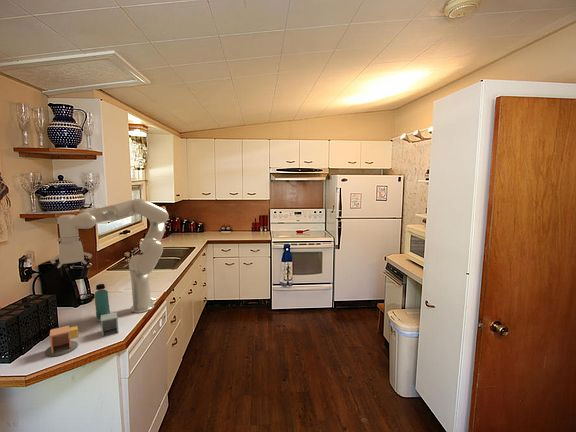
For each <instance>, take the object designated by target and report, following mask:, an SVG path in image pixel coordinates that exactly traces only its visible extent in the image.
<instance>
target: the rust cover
mask: <svg viewBox="0 0 576 432" xmlns="http://www.w3.org/2000/svg"><path fill="white" fill-rule="evenodd" d="M49 339H50V341H49V342H50V343H49V344H50V346H51V351H52V353H54V347H55V346H59V345H63V344H67V343H69V347H70V349H71V341H72V338H71V337H70V325H65V326H61V327H56V328H52V329H50V330H49Z"/></svg>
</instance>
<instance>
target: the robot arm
mask: <svg viewBox="0 0 576 432" xmlns="http://www.w3.org/2000/svg"><path fill="white" fill-rule="evenodd" d="M136 215H140V216H142V217H144V218H146V219H148V221H149V229H148V231H147V233H146V235H145V236H144V237H143V240H142V241H141V244H140V245H139V249H140V251H141V253H142V254H136V255H133V256H132V257H131V258H130V259H129V261H128V269H129V274H130V283H131V284H130V285H131V295H132V306H130V309H129V310H130V312H132V313H134V314H135V313H136V314H137V313H145V312H148V311H151V310H153V309H154V307H155V304H154V302H156V301H158V300H159V297H157V296H156V297H151V284H150V274H151V273H152V272H153V270H154V269H155V268H156V265H157V264H158V262H159V260H160V258H161V256H162V254H163V252H164V246H163V243H162V242H161V240H162V239H163V237H164V234H165V232H166V223H167V221H168V220H169V218H170V217H169V216H170V215H169V213H168V211H167V210H166V209H164V208H162V207H160V206H158V205H156V204H154V203H152V202H150V201H148V200H145V199H141V198H135V199H131V200H128V201H123V202H119V203H115V204H111V205H107V206H103V207H98V208H94V209H90V210H86V211H82V212H79V213H78V214H77V215H75V214H64V215H60V216H59V217H58V227H59V238H56V242H60V243H59V245H58V255H56V256H55V257H52V258H51V259H50V263H51V264H52V265H53V266H54V267H56V268H57V270H58V275H60V277H62V276H63V267H62V266H63V265H67V264H74V263H79V262H81V263H82V267H83V272H84V273H86V271H87V270H88V267H87V264H88V263H89V261H91V258H92V257H93V254H91V253H88V252H85V251H84V248H83V244H82V241H81V240H80V235H79V229H84V230H85V229H92V228H93V227H94V226H96V224H98V223H100V222H101V223H102V222H109V221H110V222H112V221H119V220H124V219H126V218H130V217H134V216H136ZM85 256H86V257H87V258H86V259H85ZM56 260H58V261H59V263H57V262H56Z"/></svg>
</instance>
